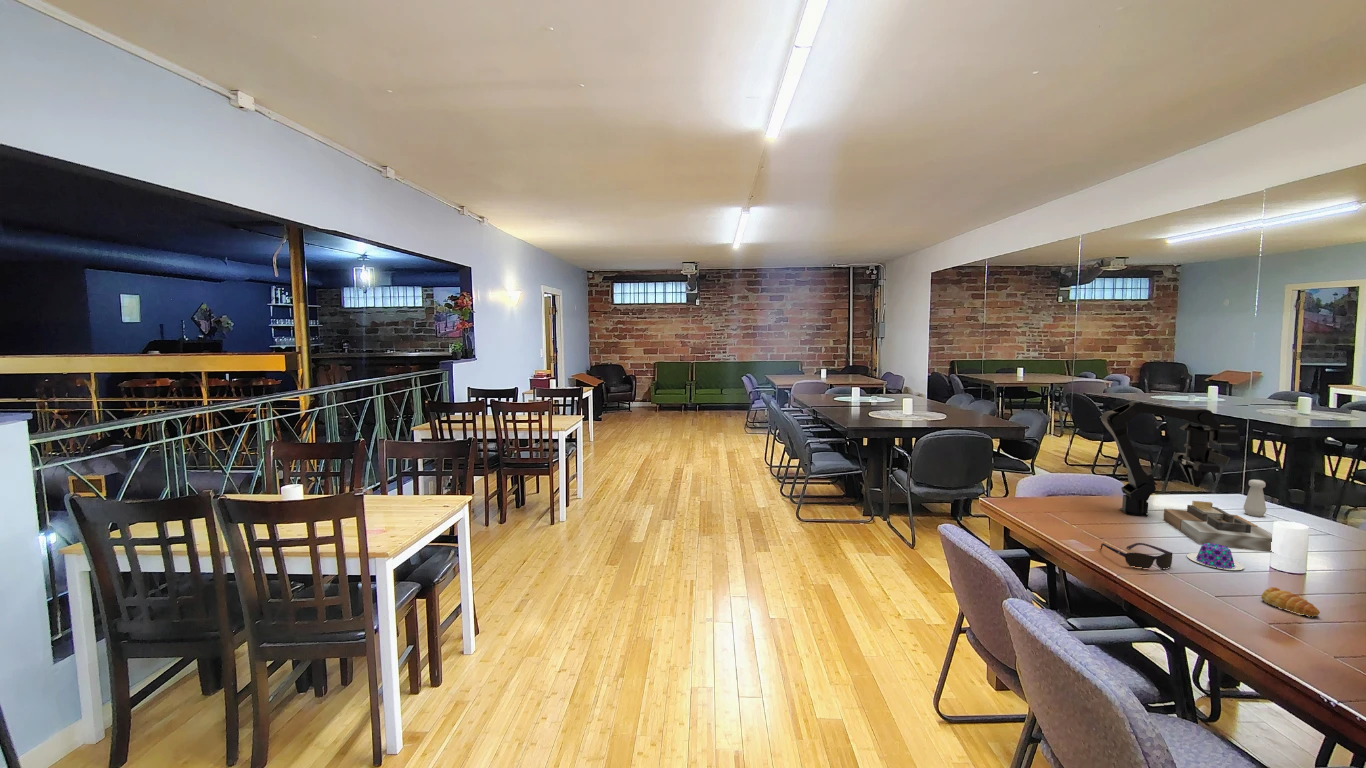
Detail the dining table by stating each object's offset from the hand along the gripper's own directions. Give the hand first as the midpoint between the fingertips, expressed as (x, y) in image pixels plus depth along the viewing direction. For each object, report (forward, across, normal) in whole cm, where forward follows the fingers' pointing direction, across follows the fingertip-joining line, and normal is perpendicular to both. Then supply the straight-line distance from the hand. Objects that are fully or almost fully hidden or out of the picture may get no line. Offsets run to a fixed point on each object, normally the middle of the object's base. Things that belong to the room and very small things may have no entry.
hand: (1194, 485), depth 194 cm
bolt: (+8, -10, 0) cm, 12 cm away
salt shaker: (+12, +12, -23) cm, 29 cm away
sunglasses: (+12, -50, +34) cm, 62 cm away
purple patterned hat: (+12, -45, +13) cm, 48 cm away
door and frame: (+12, -17, 0) cm, 21 cm away
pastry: (+12, -72, +11) cm, 74 cm away
